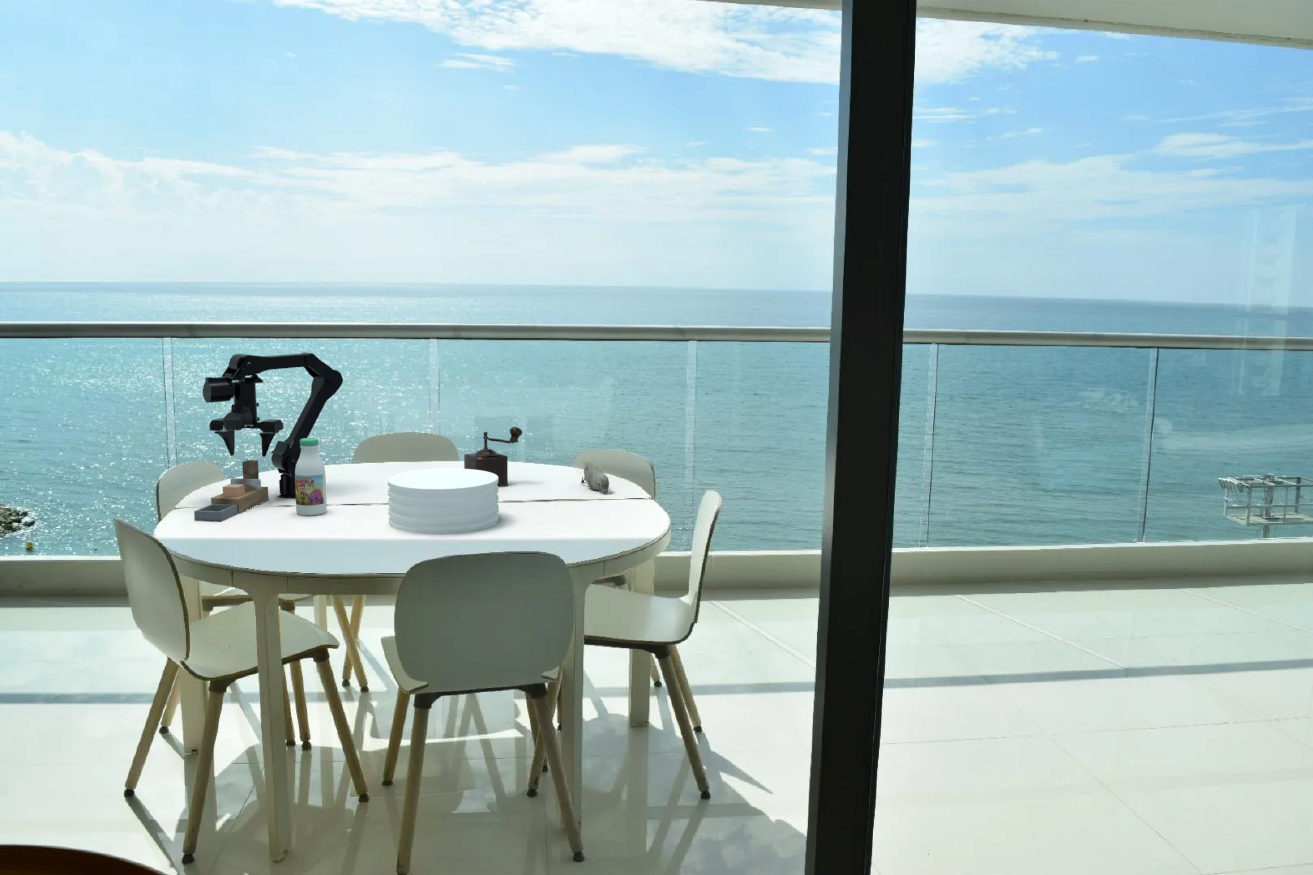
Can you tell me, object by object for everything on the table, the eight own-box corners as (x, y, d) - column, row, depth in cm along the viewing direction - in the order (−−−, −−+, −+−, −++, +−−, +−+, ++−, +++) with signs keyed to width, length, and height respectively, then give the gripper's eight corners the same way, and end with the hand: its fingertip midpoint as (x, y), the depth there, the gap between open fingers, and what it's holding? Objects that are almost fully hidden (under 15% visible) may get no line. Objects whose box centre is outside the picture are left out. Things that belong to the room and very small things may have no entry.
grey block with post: (267, 487, 278) (266, 460, 277) (259, 490, 273) (257, 463, 271) (240, 486, 278) (239, 459, 277) (231, 489, 273) (229, 462, 272)
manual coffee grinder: (478, 490, 298) (477, 430, 296) (463, 483, 307) (462, 426, 305) (524, 485, 307) (524, 427, 304) (509, 479, 316) (508, 423, 313)
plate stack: (371, 517, 262) (370, 474, 260) (468, 505, 278) (468, 464, 277) (416, 539, 240) (415, 493, 238) (518, 524, 256) (517, 481, 255)
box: (237, 514, 262) (237, 504, 262) (220, 521, 254) (220, 512, 253) (212, 513, 262) (211, 504, 262) (194, 520, 254) (194, 511, 254)
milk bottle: (302, 509, 269) (299, 436, 266) (330, 509, 269) (328, 436, 266) (291, 516, 261) (289, 440, 258) (321, 516, 261) (318, 441, 258)
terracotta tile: (244, 493, 269) (244, 484, 268) (237, 496, 265) (236, 487, 264) (230, 492, 269) (230, 483, 269) (223, 495, 265) (222, 486, 265)
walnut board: (268, 500, 279) (267, 486, 278) (239, 513, 262) (238, 499, 262) (242, 499, 279) (241, 485, 279) (211, 512, 263) (210, 498, 262)
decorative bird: (597, 495, 294) (597, 471, 293) (577, 485, 308) (577, 462, 307) (614, 494, 296) (614, 469, 295) (594, 484, 310) (594, 461, 309)
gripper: (196, 402, 265) (199, 460, 268) (263, 404, 263) (266, 462, 266) (218, 397, 276) (222, 453, 279) (282, 399, 274) (285, 455, 277)
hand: (248, 456), depth 275 cm, fingers open, 9 cm apart
